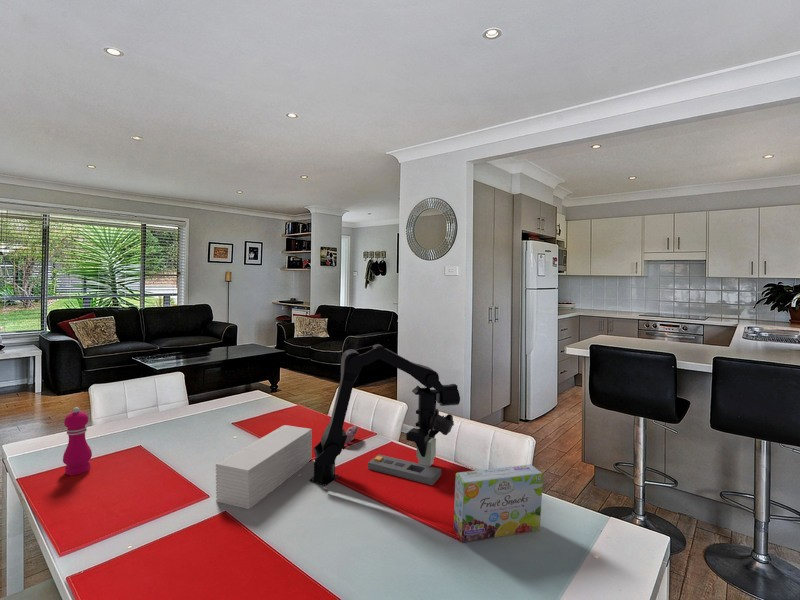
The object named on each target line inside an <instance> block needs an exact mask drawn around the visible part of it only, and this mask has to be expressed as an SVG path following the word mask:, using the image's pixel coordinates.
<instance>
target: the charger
mask: <svg viewBox="0 0 800 600" xmlns="http://www.w3.org/2000/svg"><path fill="white" fill-rule="evenodd" d="M430 438H431V437H430ZM436 454H437V438H436V437H435V438H432V439H430V440H429V441H428V443H427V449H426V455H425V457H422V456H421V454H420V452H419V450H418V447H417V446H416V459H418V461H417V462H418V464H422V465H426V466H431V467H432V465H433V464H434V460H435V458H436V456H437V455H436Z"/></svg>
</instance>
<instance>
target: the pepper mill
mask: <svg viewBox="0 0 800 600" xmlns="http://www.w3.org/2000/svg"><path fill="white" fill-rule="evenodd" d="M88 423H89V416H88V414H87V413H86V412H84V411H81V410H80V408H79V407H78V406H76V407H73V409H72V412H70V413H69V414H68V415H66V416H65V417H64V421H63V424H64V427H66V435H68V442H67V446H66V449H65V450H64V453H63V456H62V463H63V464H64V465H65V467H64V470H65V471H64V472H65V473H64V474H66V475H67V476H75V475H80V474H84V473H87V472H89V470H90V469H91V462H90V460H91V458H92V457H93V452H92V449H91V446H90V445H89V444H88V443H87V440H86V432H87V431H88V429H87V428H88V427H87V424H88Z"/></svg>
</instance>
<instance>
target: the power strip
mask: <svg viewBox="0 0 800 600" xmlns="http://www.w3.org/2000/svg"><path fill="white" fill-rule="evenodd" d="M367 469H368V470H370V471H374V472H378V473H383V474H386V475H391V476H394V477H399V478H401V479H402V478H403V479H406V480H410V481H413V482H418V483H422V484H426V485H430V486H433V485H434V484H435V483H436V482H437V481H439V478H440V477H441V476H442V468H438V467H434V466H432V465H431V466H426V465H422V464H418V463H417V462H413V461H408V460H406V459H405V460H404V459H399V458H396V457H392V456H387V455H384V454H377V455H376V456H375V457H373V458H372V459H370V460H369V461H368V462H367Z"/></svg>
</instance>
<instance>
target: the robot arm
mask: <svg viewBox="0 0 800 600" xmlns="http://www.w3.org/2000/svg"><path fill="white" fill-rule="evenodd" d="M378 360H381V361H383V362H385V363H387V364H389V365H390V366H392V367H394V368H397V369H398V370H400V371H402V372H404V373H406V374H408V375H410V376H411V377H412V378H414V379H415V380H417V381H418V382H419V383H420V384H421V385H422V386H424V387H421V386H419V385H416V387H414V388H413V389H412V390H411V392H412V393H413V394H414V395H415V396H417V397H418V398H417V399H418V401H417V403H418V404H417V409H416V410H415V414H416V415H417V421H416V422H415V427H413V428H411V429H409V430H408V432H406V434H405V440H406V441H408V442H414V443H415V445H416V448H417V447H418V450H419V452H420V454H421V456H422V457H425V455H426V449H427V443H428V441H429V440H430V439H432V438H436V436H437V435H438V433H439V432H440V433H441V434H442V435H443V436H447V435H448V434H449V433H451V431H452V428H453V426H455V421H454V417H453V416H454V415H452V414H451V413H448V414H447V415H441V414H440V411H439V409H438V408H437V404H439V406H440V407H446V406H447V407H450V406H458V405H460V402H461V396H460V392H459V389H458V385H457V384H456V383H451V384H442V382H441V381H440V375H439V373H438V371H436V370H434V369H432V368H431V367H430V366H426V365H423V364H421V363H416V362H412V361H410V360H408V359H407V358H405V357H403V356H400V354H397V353H396V352H393V351H392V350H389V349H388V348H385V347H384V346H383V345H381V344H379V343H377V344H376V343H375V344H374V345H370V346H367V347H361V348H358V349H354V348H353V349H352V348H351V349H347V350H345V351H344V352H343V353H342V355H341V360H340V362H341V363H340V380H339V384H338V389H337V392H336V395H335V396H336V397H335V400H334V405H333V408H332V412H331V416H330V420H329V423H328V424H327V426H326V428H325V429H324V432H323V434H322V436H321V438H320V441H319V442H318V443H317V444H316V446H315V447H313V452H314V457H315V459H314V461H313V476H312V477H310V478H309V481H310V482H313V483H316V484H319V485H323V486H328V485H329V484H331V483H332V482H333V481H335V480H337V479H338V478H339V474H336V460H337V457H338V456H340V454H341V453H342V451H343V450H345V445H346V444H345V441H346V439H347V435H346V430H345V429H344V423H345V419H346V415H347V411H348V408H349V403H350V400H351V395H352V390H353V387H354V384H355V382H356V380H357V378H358V377H359V375H360V373H361V371H362V368H363V367H364V366H367V365H370V364H372V363H374V362H376V361H378ZM432 388H433V389H432ZM416 427H417V428H416ZM418 427H419V428H418ZM430 437H431V438H430ZM344 444H345V445H344Z"/></svg>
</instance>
